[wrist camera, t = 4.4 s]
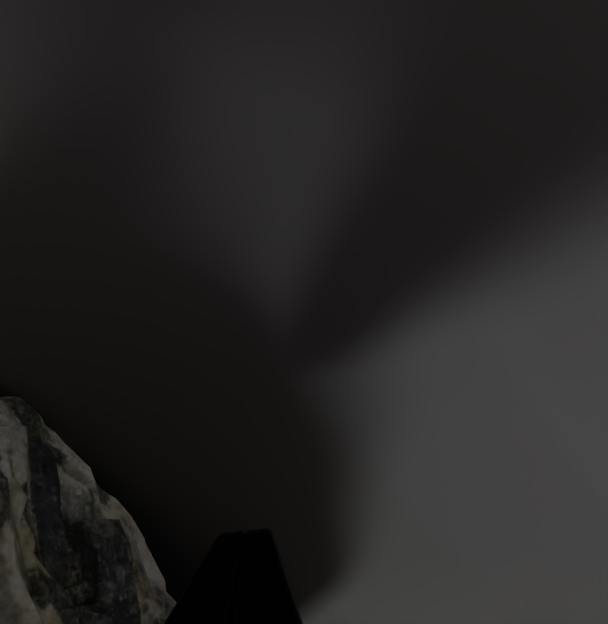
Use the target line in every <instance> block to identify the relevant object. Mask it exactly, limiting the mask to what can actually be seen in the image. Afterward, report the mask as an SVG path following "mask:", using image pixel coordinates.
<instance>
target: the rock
mask: <svg viewBox="0 0 608 624" xmlns="http://www.w3.org/2000/svg"><path fill="white" fill-rule="evenodd" d="M176 603H177V602H176V601H175V600H174V599H173V598H172V597H171V596H170V595H169V594H168V593H167V592H166V584H165V580H164V578H163V576H162V574H161V572H160V570H159V568H158V566H157V564H156V562H155V560H154V558H153V556H152V554H151V552H150V551H149V549H148V547H147V545H146V543H145V539H144V537H143V535H142V534H141V532H140V530H139V528H138V527H137V525H136V523H135V522H134V520H133V518H132V517H131V515H130V514H129V513H128V512H127V511H126V509H125V508H124V507H123V506H122V505H121V503H120V502H119V501H118V500H117V499H116V498H114V497H113V496H111V495H110V494H108V493H107V492H105V491H104V490H102V489H101V488H100V486H99V485H98V483H97V482H96V481H95V479H94V477H93V474H92V471H91V468H90V467H89V466H88V465H87V464H86V463H85V462H84V461H83V460H82V459H81V458H80V457H79V456H78V455H77V454H76V453H75V452H74V451H73V450H71V449H70V448H69V447H68V446H67V445H66V444H65V443H64V442H63V441H62V440H61V438H60V437H59V436H58V435H57V434H56V433H55V432H54V431H53V430H51V429H50V428H49V427H47V426H46V425H45V424H44V421H43V419H42V417H41V415H40V414H39V413H38V412H37V411H35V410H34V409H33V408H32V407H31V406H30V405H29V404H28V403H27V402H26V401H24V400H23V399H21V398H19V397H0V624H164V622H165V621H166V619H167V618H168V616H169V614H170V613H171V611H172V609H173V608H174V606H175V605H176Z"/></svg>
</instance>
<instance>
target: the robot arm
mask: <svg viewBox="0 0 608 624" xmlns="http://www.w3.org/2000/svg"><path fill="white" fill-rule="evenodd" d="M164 624H303V623H302V620H301V617H300V614H299V611H298V608H297V605H296V602H295V599H294V596H293V593H292V590H291V587H290V584H289V581H288V579H287V576H286V573H285V570H284V567H283V564H282V561H281V558H280V555H279V552H278V549H277V546H276V543H275V540H274V537H273V534H272V532H271V530H270V529H268V528H266V529H256V530H249V531H247V532H246V534H245V532H243V531H237V532H227V533H222V534H220V535H219V536H218V537H217V538H216V540H215V542H214V543H213V545H212V547H211V548H210V550H209V551H208V553H207V555H206V556H205V558H204V559H203V561H202V563H201V564H200V566H199V568H198V569H197V571H196V572H195V574H194V576H193V577H192V579H191V580H190V582H189V584H188V585H187V587H186V588H185V590H184V592H183V593H182V595H181V597H180V598H179V600H178V601H177V603H176V605H175V606H174V608H173V609H172V611H171V613H170V614H169V616H168V618H167V619H166V621H165V622H164Z"/></svg>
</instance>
